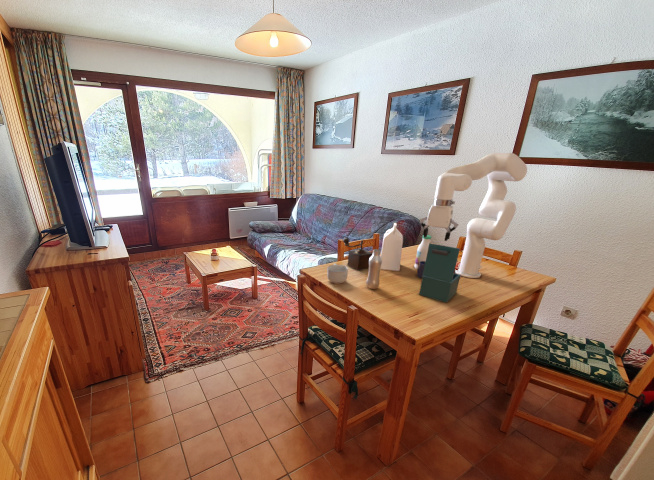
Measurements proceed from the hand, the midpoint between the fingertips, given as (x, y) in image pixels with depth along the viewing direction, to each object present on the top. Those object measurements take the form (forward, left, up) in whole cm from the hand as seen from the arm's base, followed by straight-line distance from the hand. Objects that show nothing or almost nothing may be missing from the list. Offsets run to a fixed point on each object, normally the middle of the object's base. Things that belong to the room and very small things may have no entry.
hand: (435, 238), depth 150 cm
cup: (-10, -9, -25) cm, 29 cm away
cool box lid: (+10, +11, -7) cm, 16 cm away
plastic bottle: (+26, -13, -26) cm, 38 cm away
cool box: (+4, +9, -25) cm, 27 cm away
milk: (-7, -30, -26) cm, 40 cm away
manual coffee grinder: (+11, -40, -26) cm, 49 cm away
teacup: (+35, -30, -26) cm, 52 cm away
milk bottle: (-21, -18, -26) cm, 38 cm away
